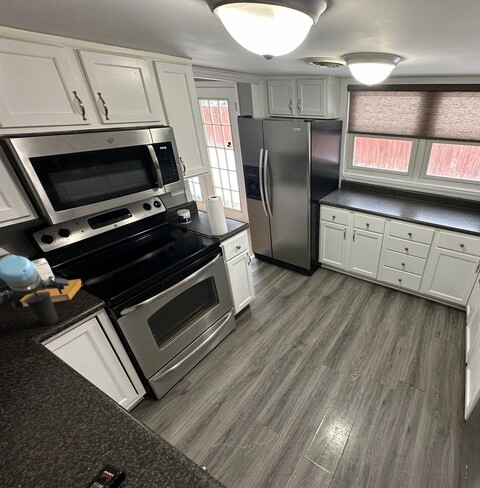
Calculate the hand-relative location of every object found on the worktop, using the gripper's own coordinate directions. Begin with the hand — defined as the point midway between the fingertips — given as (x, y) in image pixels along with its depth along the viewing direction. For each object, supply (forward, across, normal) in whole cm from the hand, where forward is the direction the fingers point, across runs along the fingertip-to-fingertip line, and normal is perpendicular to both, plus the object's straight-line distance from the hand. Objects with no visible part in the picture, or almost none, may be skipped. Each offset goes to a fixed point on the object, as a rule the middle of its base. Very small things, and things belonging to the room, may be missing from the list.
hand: (37, 298), depth 108 cm
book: (+31, +4, +10) cm, 33 cm away
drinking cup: (+14, 0, -7) cm, 16 cm away
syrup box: (+41, +4, +20) cm, 46 cm away
